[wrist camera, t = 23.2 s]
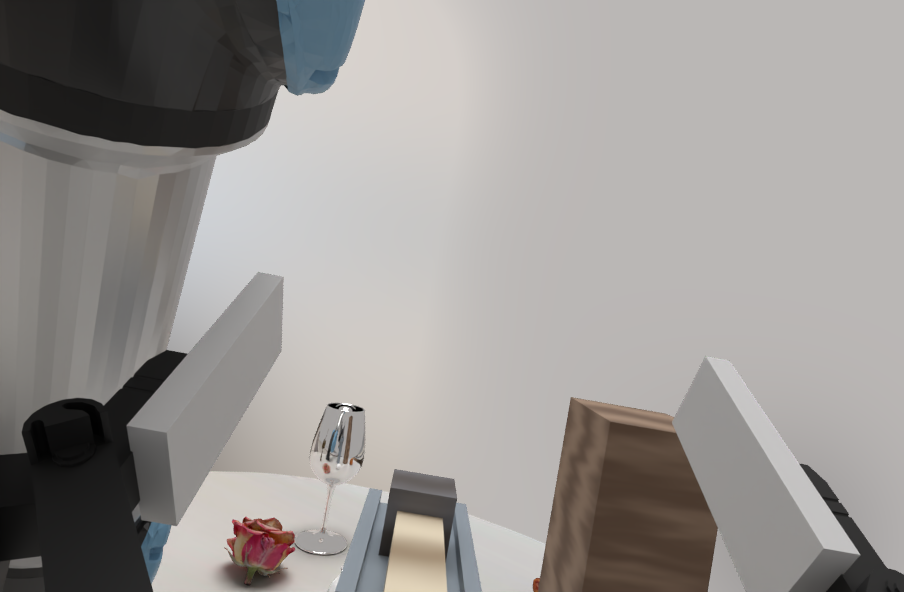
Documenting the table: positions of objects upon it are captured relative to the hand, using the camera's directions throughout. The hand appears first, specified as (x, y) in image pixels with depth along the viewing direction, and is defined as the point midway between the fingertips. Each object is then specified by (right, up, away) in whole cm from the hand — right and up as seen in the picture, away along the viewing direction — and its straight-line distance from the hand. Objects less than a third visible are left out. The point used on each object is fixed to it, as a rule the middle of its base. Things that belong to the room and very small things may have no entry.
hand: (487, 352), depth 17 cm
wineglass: (-20, -34, +61) cm, 73 cm away
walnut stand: (+11, -39, +31) cm, 51 cm away
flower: (-26, -33, +50) cm, 65 cm away
